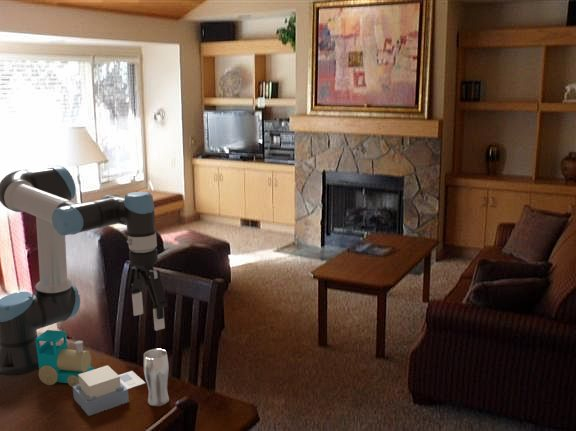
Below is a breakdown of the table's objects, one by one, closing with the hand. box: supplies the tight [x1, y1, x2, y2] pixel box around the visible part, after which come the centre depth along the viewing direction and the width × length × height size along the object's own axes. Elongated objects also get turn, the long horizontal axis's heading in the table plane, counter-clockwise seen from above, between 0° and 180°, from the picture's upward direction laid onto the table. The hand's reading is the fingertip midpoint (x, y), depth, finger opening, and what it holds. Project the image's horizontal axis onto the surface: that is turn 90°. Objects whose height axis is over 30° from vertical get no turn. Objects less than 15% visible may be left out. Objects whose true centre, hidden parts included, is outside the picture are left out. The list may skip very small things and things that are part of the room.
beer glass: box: [143, 348, 170, 407], centre depth 179 cm, size 7×7×15 cm
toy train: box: [36, 329, 95, 388], centre depth 192 cm, size 8×17×15 cm, turn 78°
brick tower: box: [72, 365, 130, 417], centre depth 181 cm, size 12×12×8 cm
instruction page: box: [118, 370, 146, 390], centre depth 193 cm, size 10×7×1 cm
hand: (148, 321), depth 174 cm, fingers open, 13 cm apart
